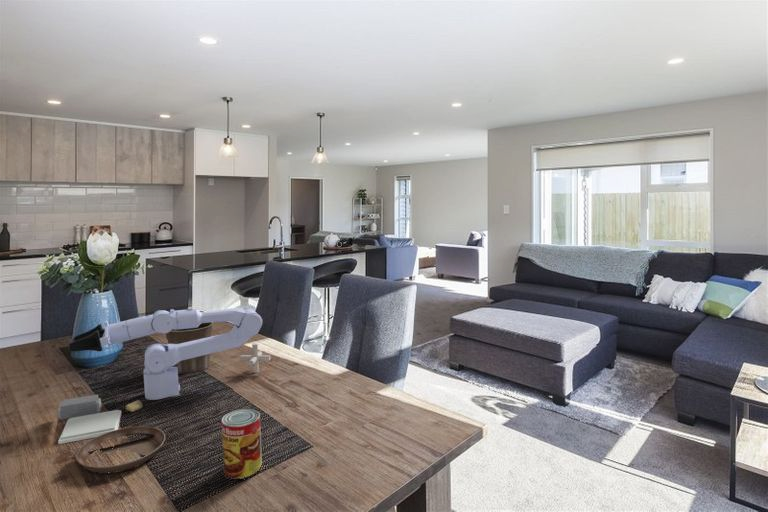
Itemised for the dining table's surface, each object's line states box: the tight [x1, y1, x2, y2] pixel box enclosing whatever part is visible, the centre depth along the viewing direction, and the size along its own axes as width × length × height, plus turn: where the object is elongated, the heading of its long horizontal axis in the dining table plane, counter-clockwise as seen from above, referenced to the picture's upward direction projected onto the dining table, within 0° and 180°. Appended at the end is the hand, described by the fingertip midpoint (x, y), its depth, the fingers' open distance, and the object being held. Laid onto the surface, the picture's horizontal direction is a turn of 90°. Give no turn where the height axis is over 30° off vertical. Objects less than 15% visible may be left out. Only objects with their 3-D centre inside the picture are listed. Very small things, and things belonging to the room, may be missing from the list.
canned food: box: [221, 408, 263, 478], centre depth 97 cm, size 8×8×12 cm
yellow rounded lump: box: [125, 399, 144, 413], centre depth 125 cm, size 3×3×3 cm
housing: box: [57, 394, 102, 420], centre depth 122 cm, size 9×4×5 cm, turn 116°
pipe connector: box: [239, 342, 272, 374], centre depth 154 cm, size 10×10×10 cm
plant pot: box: [165, 322, 215, 375], centre depth 158 cm, size 16×16×16 cm
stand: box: [57, 409, 122, 445], centre depth 114 cm, size 12×12×2 cm
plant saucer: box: [75, 425, 166, 474], centre depth 103 cm, size 18×18×3 cm
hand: (72, 344), depth 122 cm, fingers open, 7 cm apart
